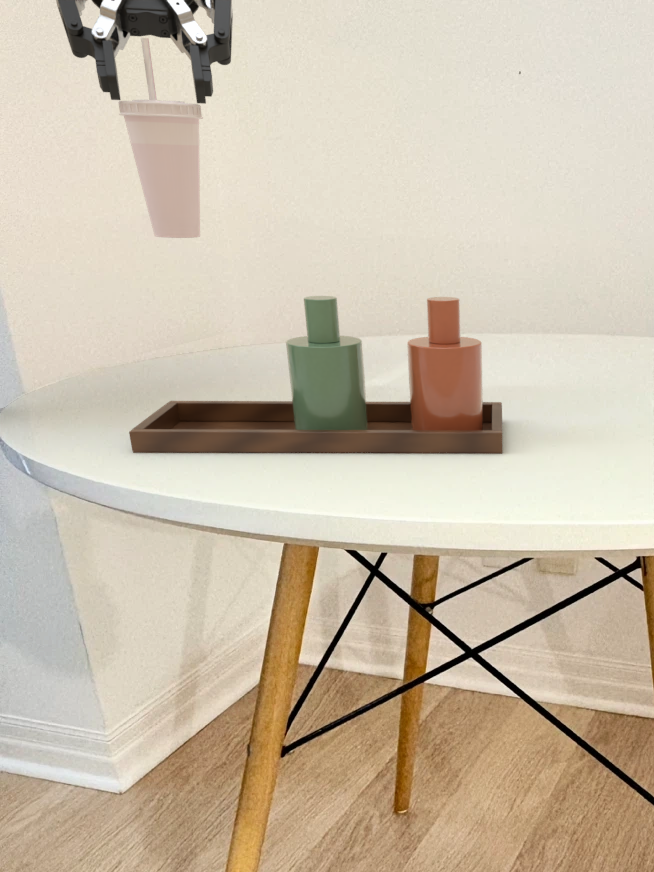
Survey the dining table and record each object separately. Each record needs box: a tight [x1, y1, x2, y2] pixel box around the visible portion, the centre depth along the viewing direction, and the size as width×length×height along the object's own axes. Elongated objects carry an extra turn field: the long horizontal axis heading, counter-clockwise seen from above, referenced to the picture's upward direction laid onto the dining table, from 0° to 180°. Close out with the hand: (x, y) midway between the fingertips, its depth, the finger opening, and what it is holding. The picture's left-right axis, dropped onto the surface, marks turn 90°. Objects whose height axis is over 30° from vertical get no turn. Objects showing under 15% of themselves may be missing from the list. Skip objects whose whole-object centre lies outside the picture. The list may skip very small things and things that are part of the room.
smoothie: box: [118, 37, 204, 239], centre depth 82 cm, size 6×6×14 cm
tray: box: [128, 400, 503, 455], centre depth 78 cm, size 27×11×2 cm, turn 92°
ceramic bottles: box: [285, 295, 484, 430], centre depth 76 cm, size 15×6×10 cm, turn 92°
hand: (158, 92), depth 79 cm, fingers closed on smoothie, 6 cm apart
